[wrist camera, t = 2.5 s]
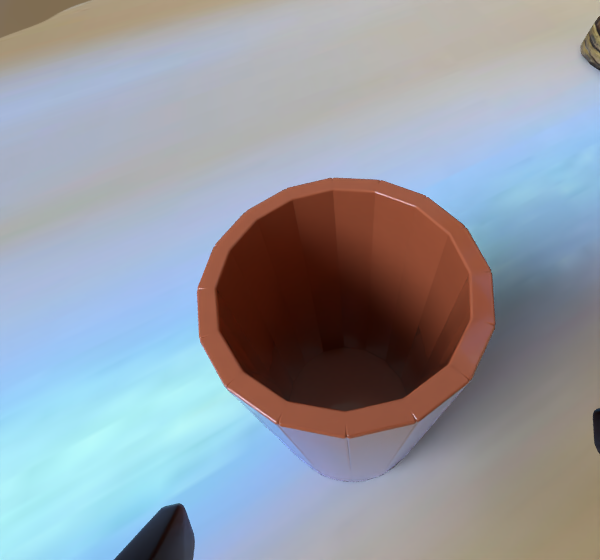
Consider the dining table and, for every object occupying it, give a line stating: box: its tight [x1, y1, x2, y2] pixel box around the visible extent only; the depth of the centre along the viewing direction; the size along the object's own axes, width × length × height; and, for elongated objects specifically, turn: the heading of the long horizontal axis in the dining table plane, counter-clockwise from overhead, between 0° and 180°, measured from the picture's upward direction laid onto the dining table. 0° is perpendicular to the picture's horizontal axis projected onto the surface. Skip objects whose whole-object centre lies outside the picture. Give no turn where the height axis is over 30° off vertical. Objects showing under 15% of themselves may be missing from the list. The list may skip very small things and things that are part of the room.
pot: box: [197, 178, 496, 482], centre depth 14 cm, size 7×7×12 cm
